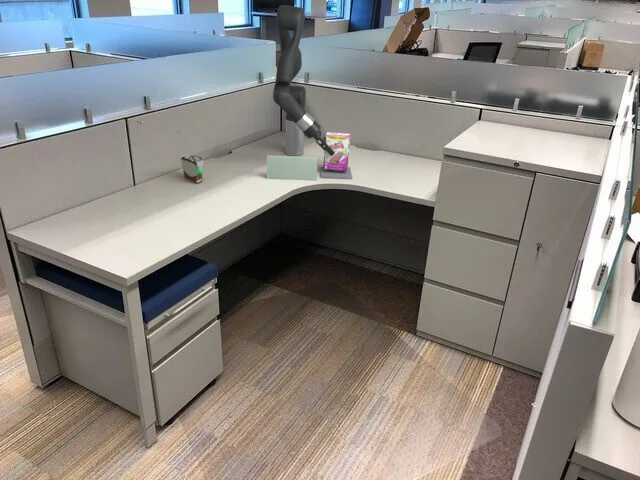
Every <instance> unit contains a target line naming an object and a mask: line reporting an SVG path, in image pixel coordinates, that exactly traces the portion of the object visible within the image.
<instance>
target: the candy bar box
mask: <svg viewBox="0 0 640 480" xmlns="http://www.w3.org/2000/svg"><path fill="white" fill-rule="evenodd" d="M351 135H352V134H350V133H343V132H333V131H332V132H331V131H327V132H326V133H325V135H324V136H325V140H326V141H327V144H328V145H329V146H330V148H331V149H332V150H333V151H334V152H335V154H334V155H333V156H331V155H330V154H329V153H328V152H327V151H324V152H323V166H324V167H323V169H324V170H336V171H347V169H348V167H349V158H350V147H351V137H352V136H351ZM324 147H326V145H325V146H324Z"/></svg>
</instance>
